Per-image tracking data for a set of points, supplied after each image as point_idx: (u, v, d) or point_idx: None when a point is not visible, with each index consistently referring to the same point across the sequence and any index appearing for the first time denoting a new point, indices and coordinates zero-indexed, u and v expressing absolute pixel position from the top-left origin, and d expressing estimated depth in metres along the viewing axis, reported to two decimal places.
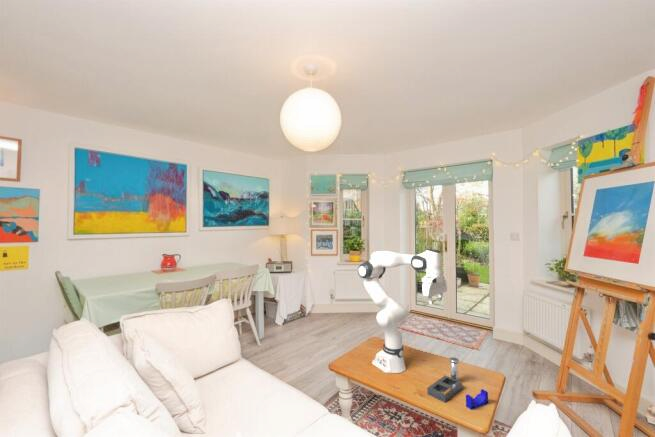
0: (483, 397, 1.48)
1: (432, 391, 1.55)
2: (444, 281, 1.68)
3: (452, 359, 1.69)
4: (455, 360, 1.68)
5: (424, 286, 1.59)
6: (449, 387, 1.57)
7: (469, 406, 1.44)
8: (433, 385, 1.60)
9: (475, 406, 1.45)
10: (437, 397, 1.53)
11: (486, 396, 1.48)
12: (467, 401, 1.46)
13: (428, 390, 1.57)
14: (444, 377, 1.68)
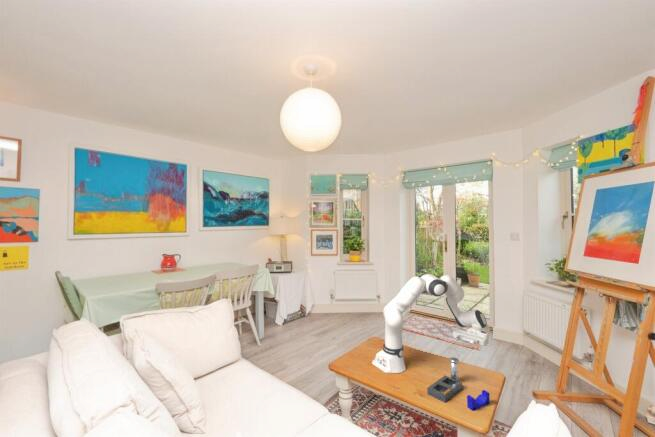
0: (484, 398, 1.47)
1: (432, 391, 1.55)
2: None
3: (452, 359, 1.69)
4: (455, 360, 1.68)
5: (487, 339, 1.77)
6: (449, 387, 1.57)
7: (470, 407, 1.44)
8: (433, 385, 1.60)
9: (476, 407, 1.44)
10: (437, 397, 1.53)
11: (488, 397, 1.47)
12: (468, 402, 1.45)
13: (428, 390, 1.57)
14: (444, 377, 1.68)
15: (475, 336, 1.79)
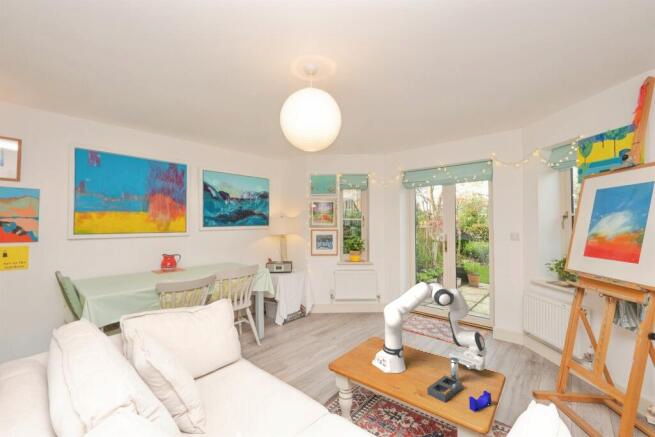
0: (486, 399, 1.47)
1: (432, 391, 1.55)
2: None
3: (452, 359, 1.69)
4: (455, 360, 1.68)
5: (484, 363, 1.73)
6: (449, 387, 1.57)
7: (473, 408, 1.43)
8: (433, 385, 1.60)
9: (478, 408, 1.43)
10: (437, 397, 1.53)
11: (489, 398, 1.47)
12: (470, 403, 1.44)
13: (428, 390, 1.57)
14: (444, 377, 1.68)
15: (471, 359, 1.76)
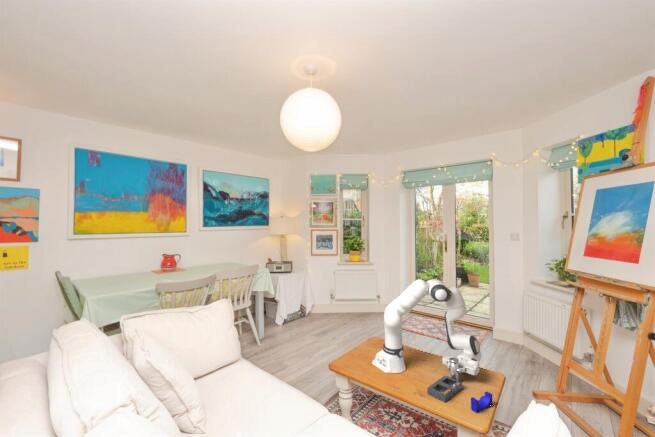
0: (487, 399, 1.46)
1: (432, 391, 1.55)
2: None
3: (452, 359, 1.69)
4: (455, 360, 1.68)
5: (478, 368, 1.68)
6: (449, 387, 1.57)
7: (474, 409, 1.42)
8: (433, 385, 1.60)
9: (480, 409, 1.42)
10: (437, 397, 1.53)
11: (491, 399, 1.46)
12: (472, 404, 1.43)
13: (428, 390, 1.57)
14: (444, 377, 1.68)
15: (465, 364, 1.70)
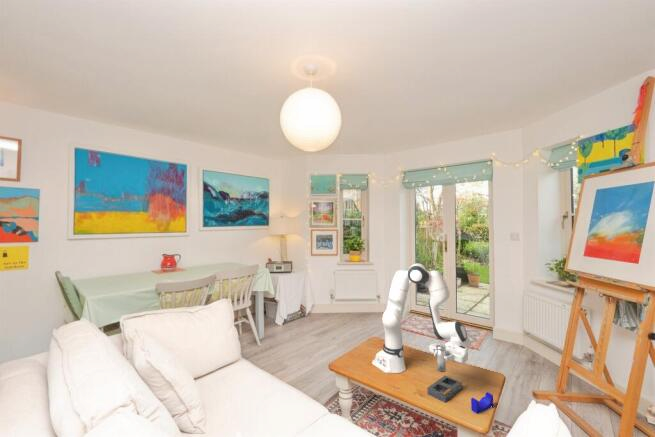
0: (488, 400, 1.45)
1: (432, 391, 1.55)
2: None
3: (439, 346, 1.59)
4: (442, 347, 1.58)
5: (466, 355, 1.57)
6: (449, 387, 1.57)
7: (475, 410, 1.41)
8: (433, 385, 1.60)
9: (481, 410, 1.42)
10: (437, 397, 1.53)
11: (492, 400, 1.45)
12: (472, 405, 1.42)
13: (428, 390, 1.57)
14: (444, 377, 1.68)
15: (453, 351, 1.60)
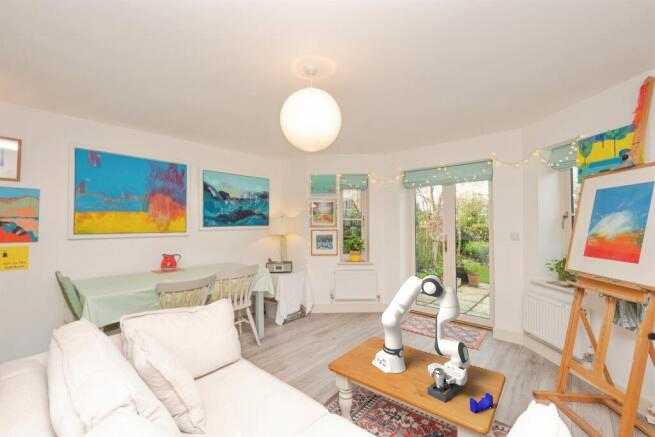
0: (488, 401, 1.45)
1: (432, 391, 1.55)
2: None
3: (437, 370, 1.57)
4: (440, 371, 1.56)
5: (465, 377, 1.55)
6: (449, 387, 1.57)
7: (473, 410, 1.42)
8: (433, 385, 1.60)
9: (479, 410, 1.42)
10: (437, 397, 1.53)
11: (491, 400, 1.45)
12: (471, 405, 1.43)
13: (428, 390, 1.57)
14: None
15: (452, 373, 1.58)
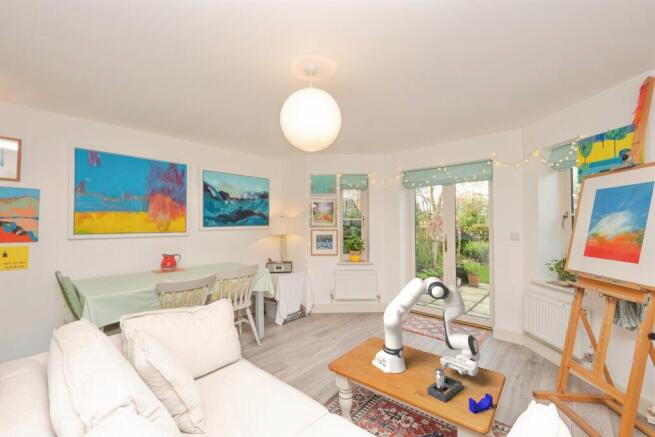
0: (487, 401, 1.44)
1: (432, 391, 1.55)
2: None
3: (438, 370, 1.57)
4: (441, 371, 1.56)
5: (476, 368, 1.64)
6: (449, 387, 1.57)
7: (472, 410, 1.41)
8: (433, 385, 1.60)
9: (478, 410, 1.42)
10: (437, 397, 1.53)
11: (491, 401, 1.44)
12: (470, 405, 1.43)
13: (428, 390, 1.57)
14: (444, 377, 1.68)
15: (464, 364, 1.67)
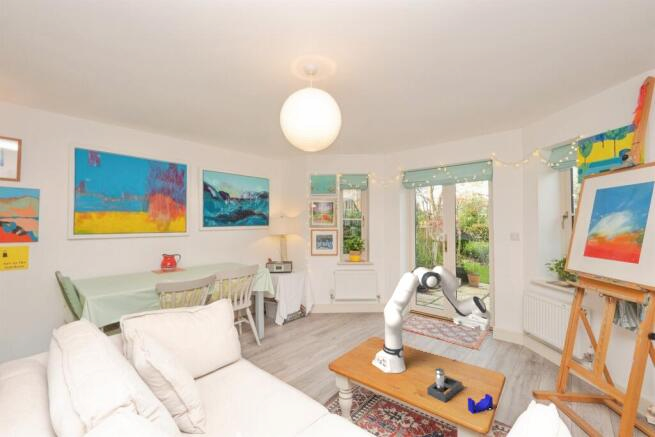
0: (487, 402, 1.44)
1: (432, 391, 1.55)
2: None
3: (438, 370, 1.57)
4: (441, 371, 1.56)
5: (488, 325, 1.74)
6: (449, 387, 1.57)
7: (471, 410, 1.42)
8: (433, 385, 1.60)
9: (477, 410, 1.41)
10: (437, 397, 1.53)
11: (491, 402, 1.44)
12: (469, 404, 1.43)
13: (428, 390, 1.57)
14: (444, 377, 1.68)
15: (476, 321, 1.77)
